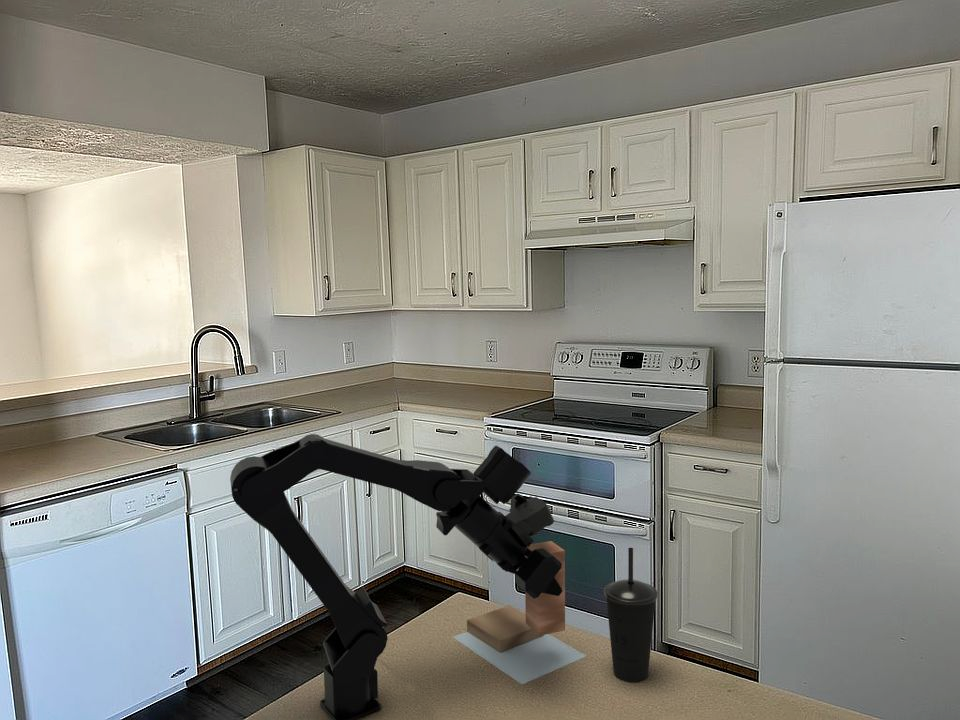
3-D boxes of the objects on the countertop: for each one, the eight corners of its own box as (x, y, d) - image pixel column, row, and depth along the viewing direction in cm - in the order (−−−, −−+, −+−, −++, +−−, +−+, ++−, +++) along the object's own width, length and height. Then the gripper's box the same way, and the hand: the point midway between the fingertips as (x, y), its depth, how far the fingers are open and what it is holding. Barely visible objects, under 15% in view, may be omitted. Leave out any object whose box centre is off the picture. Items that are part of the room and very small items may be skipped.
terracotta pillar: (538, 636, 108) (537, 555, 106) (525, 623, 112) (524, 545, 111) (565, 630, 109) (564, 550, 108) (551, 617, 113) (551, 541, 112)
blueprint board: (522, 690, 104) (522, 684, 104) (452, 642, 118) (452, 636, 118) (587, 662, 111) (587, 655, 111) (514, 620, 126) (513, 614, 126)
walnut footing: (500, 652, 113) (500, 640, 113) (467, 631, 120) (466, 620, 120) (543, 635, 118) (543, 624, 118) (509, 616, 125) (509, 605, 125)
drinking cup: (612, 661, 111) (612, 536, 109) (662, 672, 108) (663, 543, 106) (597, 686, 105) (597, 553, 103) (650, 699, 101) (651, 561, 99)
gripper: (548, 501, 98) (618, 567, 103) (496, 469, 115) (557, 527, 121) (495, 565, 96) (569, 629, 101) (450, 524, 113) (515, 580, 118)
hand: (553, 587), depth 110 cm, fingers closed on terracotta pillar, 4 cm apart
